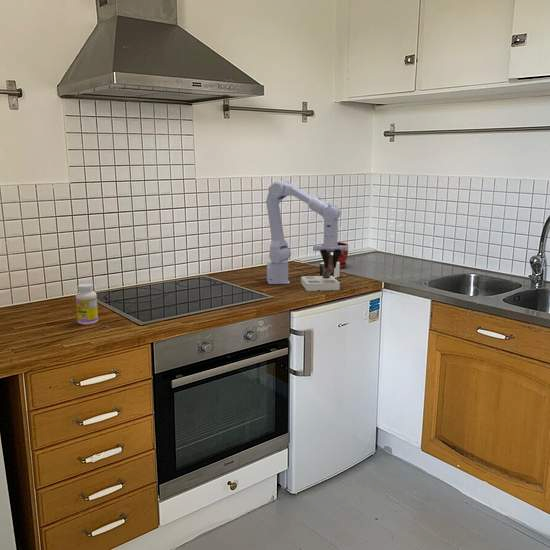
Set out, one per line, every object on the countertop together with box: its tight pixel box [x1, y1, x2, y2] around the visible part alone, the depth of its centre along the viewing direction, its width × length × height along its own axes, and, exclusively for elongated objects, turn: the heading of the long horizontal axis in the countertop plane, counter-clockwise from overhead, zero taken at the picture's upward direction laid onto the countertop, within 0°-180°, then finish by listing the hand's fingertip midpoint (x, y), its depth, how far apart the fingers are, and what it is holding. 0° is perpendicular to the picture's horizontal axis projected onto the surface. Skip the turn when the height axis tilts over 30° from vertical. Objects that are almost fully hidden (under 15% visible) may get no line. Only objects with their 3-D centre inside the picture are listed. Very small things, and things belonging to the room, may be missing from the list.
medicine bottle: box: [319, 252, 341, 279], centre depth 255 cm, size 7×7×12 cm
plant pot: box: [322, 241, 349, 269], centre depth 280 cm, size 13×13×12 cm
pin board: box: [300, 266, 341, 292], centre depth 238 cm, size 14×14×8 cm
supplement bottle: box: [75, 283, 99, 326], centre depth 185 cm, size 7×7×13 cm
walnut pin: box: [326, 255, 334, 273], centre depth 234 cm, size 3×3×7 cm
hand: (330, 267), depth 234 cm, fingers closed on walnut pin, 3 cm apart
